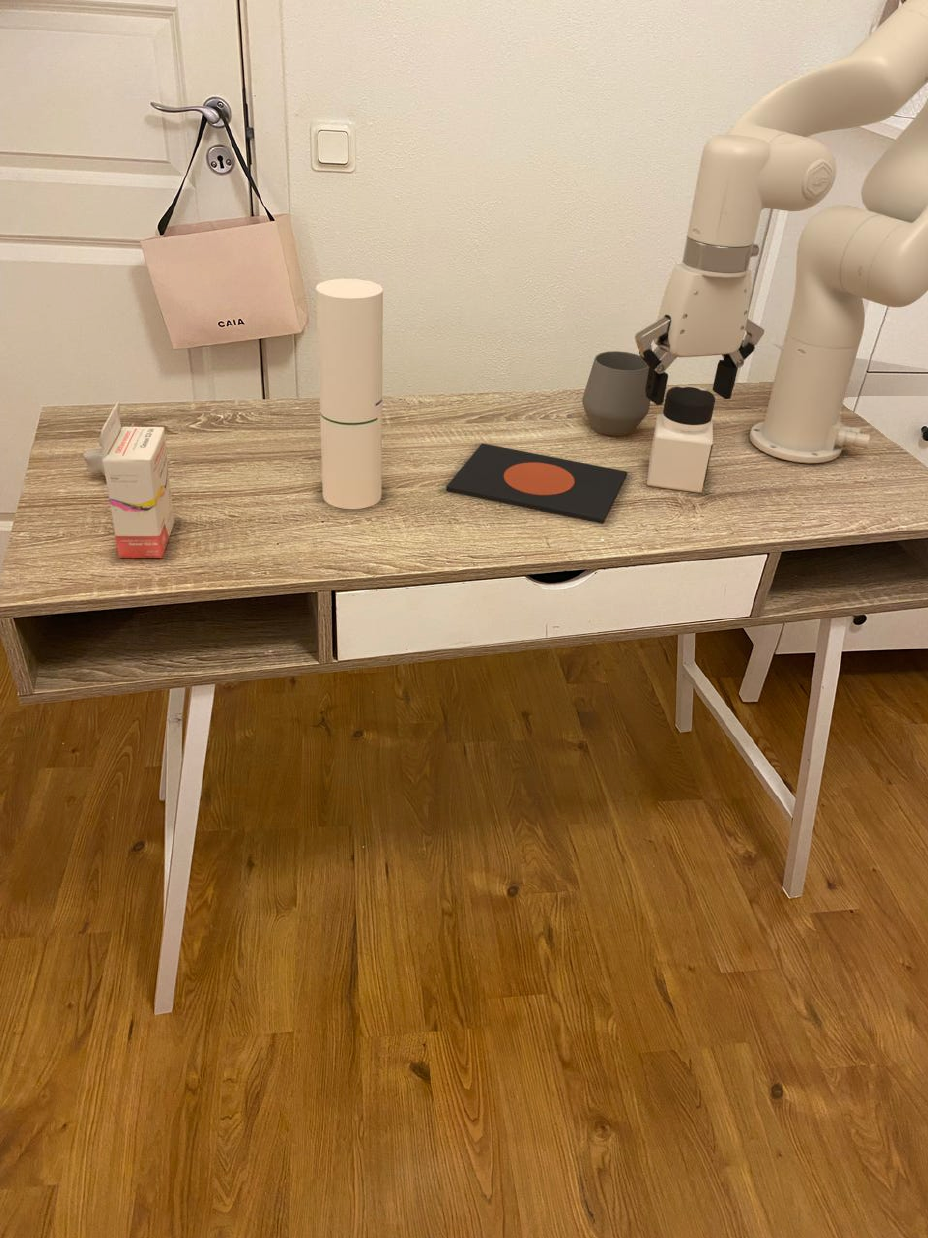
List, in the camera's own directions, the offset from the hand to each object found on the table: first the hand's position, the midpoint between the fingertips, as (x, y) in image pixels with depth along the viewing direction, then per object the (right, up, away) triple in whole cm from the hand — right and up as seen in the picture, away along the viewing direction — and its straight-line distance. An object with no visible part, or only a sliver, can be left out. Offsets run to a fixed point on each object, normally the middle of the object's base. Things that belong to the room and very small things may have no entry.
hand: (687, 397), depth 124 cm
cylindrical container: (-41, -12, -2) cm, 43 cm away
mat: (-18, -10, +3) cm, 21 cm away
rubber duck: (-70, -10, -1) cm, 71 cm away
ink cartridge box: (-63, -19, -13) cm, 67 cm away
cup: (-7, 0, +19) cm, 20 cm away
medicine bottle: (0, -9, +7) cm, 11 cm away
